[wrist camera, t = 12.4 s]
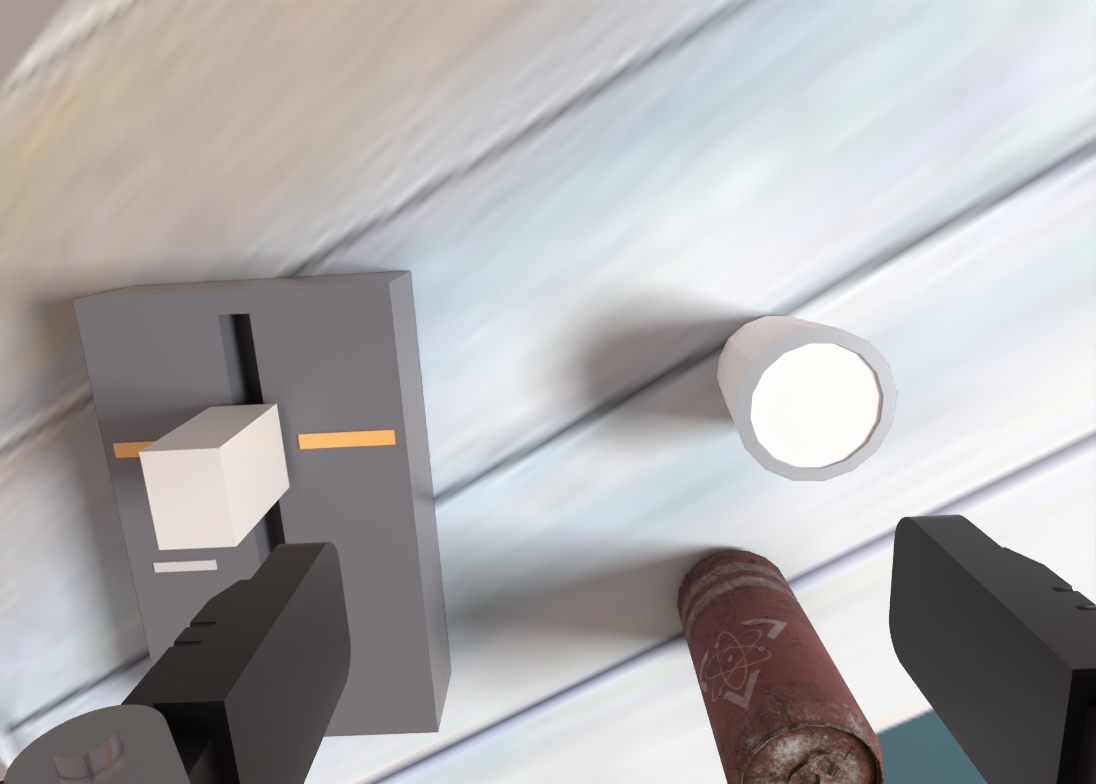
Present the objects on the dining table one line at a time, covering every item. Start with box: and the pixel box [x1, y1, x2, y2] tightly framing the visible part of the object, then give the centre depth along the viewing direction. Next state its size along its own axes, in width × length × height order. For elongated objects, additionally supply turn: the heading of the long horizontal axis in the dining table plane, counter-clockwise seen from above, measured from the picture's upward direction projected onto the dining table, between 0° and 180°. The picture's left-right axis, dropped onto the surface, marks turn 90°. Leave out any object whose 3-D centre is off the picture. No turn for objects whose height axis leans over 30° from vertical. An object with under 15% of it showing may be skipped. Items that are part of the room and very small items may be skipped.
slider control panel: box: [72, 271, 451, 737], centre depth 38 cm, size 23×14×5 cm, turn 3°
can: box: [677, 551, 884, 784], centre depth 35 cm, size 6×6×14 cm
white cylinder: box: [717, 316, 897, 481], centre depth 35 cm, size 7×7×7 cm
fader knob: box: [139, 404, 289, 550], centre depth 32 cm, size 4×3×8 cm
